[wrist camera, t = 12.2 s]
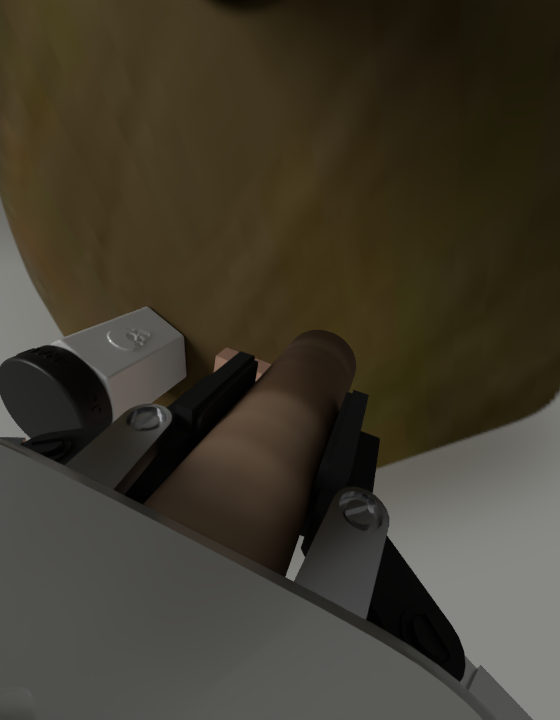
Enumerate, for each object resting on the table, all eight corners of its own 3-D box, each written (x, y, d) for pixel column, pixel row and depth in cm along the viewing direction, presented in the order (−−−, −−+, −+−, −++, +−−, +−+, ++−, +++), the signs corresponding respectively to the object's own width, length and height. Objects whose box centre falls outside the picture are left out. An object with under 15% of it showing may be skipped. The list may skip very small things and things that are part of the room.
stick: (294, 321, 15) (45, 551, 5) (365, 342, 14) (251, 674, 4) (281, 381, 17) (73, 652, 6) (344, 404, 16) (224, 753, 6)
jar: (203, 348, 31) (101, 417, 20) (173, 399, 35) (76, 477, 25) (131, 289, 31) (-6, 329, 21) (110, 347, 35) (-12, 404, 25)
